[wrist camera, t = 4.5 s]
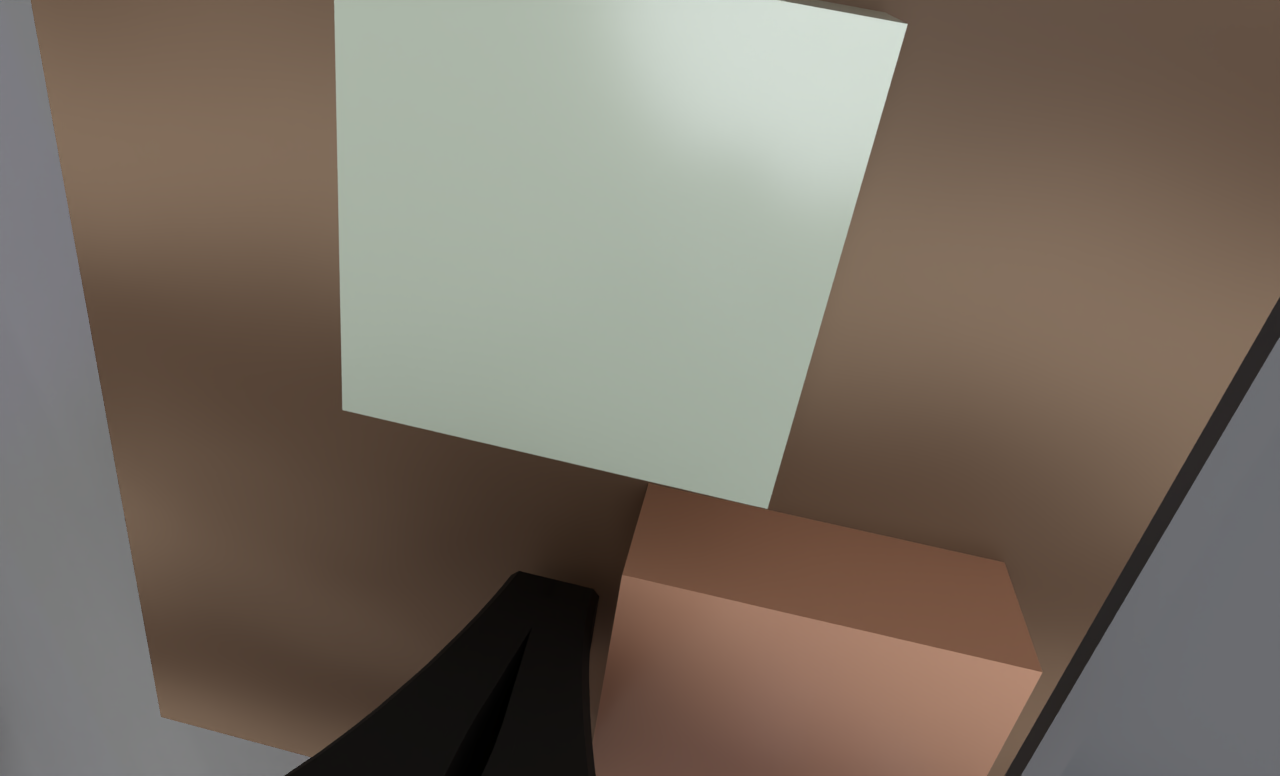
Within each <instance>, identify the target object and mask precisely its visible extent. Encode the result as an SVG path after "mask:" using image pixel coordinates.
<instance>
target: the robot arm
mask: <svg viewBox="0 0 1280 776" xmlns="http://www.w3.org/2000/svg"><path fill="white" fill-rule="evenodd" d="M598 602H599V595H598V594H597V593H596V591H595V590H594V589H592V588H588V587H584V586H580V585H576V584H572V583H567V582H563V581H559V580H555V579H551V578H547V577H543V576H538V575H534V574H530V573H526V572H522V571H518V572H516V573H514V574H512V575H511V576H510V577H509V578H508V579H507V581H506V582H505V583H504V584H503V586H502V587H501V588H500V589H499V590H498V591H497V593H496V594H495V595H494V596H493V597H492V598H491V599H490V601H489V602H488V603H487V604H486V605H485V606H484V607H483V608H482V609H481V610H480V612H479V613H478V614H477V615H476V616H475V617H474V618H473V619H472V620H471V621H470V622H469V623H468V624H467V625H466V626H465V627H464V628H463V629H462V630H461V631H460V632H459V633H458V634H457V635H456V636H455V637H454V638H453V639H452V640H451V641H450V642H449V643H448V644H447V645H446V646H445V647H444V648H443V649H442V650H441V651H440V652H439V653H438V654H437V655H436V656H435V657H434V658H433V659H432V660H431V661H430V662H428V663H427V664H426V665H425V666H424V667H423V668H422V669H421V670H420V671H419V672H418V673H416V674H415V675H414V676H413V677H412V678H411V679H410V680H408V681H407V682H406V683H405V684H404V685H403V686H401V687H400V688H399V689H398V690H397V691H396V692H395V693H393V694H392V695H391V696H390V697H389V698H388V699H386V700H385V701H384V702H383V703H382V704H381V705H379V706H378V707H377V708H376V709H375V710H373V711H372V712H371V713H370V714H368V715H367V716H366V717H365V718H363V719H362V720H361V721H360V722H358V723H357V724H356V725H355V726H353V727H352V728H351V729H349V730H348V731H347V732H345V733H344V734H343V735H341V736H340V737H339V738H337V739H336V740H335V741H333V742H332V743H331V744H329V745H328V746H327V747H325V748H324V749H323V750H321V751H320V752H318V753H317V754H316V755H314V756H313V757H311V758H310V759H308V760H307V761H305V762H304V763H302V764H301V765H300V766H298V767H297V768H295V769H294V770H292V771H291V772H289V773H288V774H286V775H285V776H596V773H595V764H594V754H593V744H592V733H591V718H590V689H589V660H590V649H591V643H592V637H593V631H594V626H595V620H596V614H597V608H598Z"/></svg>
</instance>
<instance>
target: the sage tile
mask: <svg viewBox="0 0 1280 776" xmlns="http://www.w3.org/2000/svg"><path fill="white" fill-rule="evenodd" d="M334 19H335V69H336V118H337V168H338V217H339V267H340V316H341V366H342V410H345V411H349V412H353V413H358V414H362V415H366V416H370V417H375V418H379V419H383V420H388V421H392V422H396V423H400V424H405V425H409V426H413V427H418V428H422V429H426V430H431V431H435V432H439V433H443V434H448V435H452V436H456V437H461V438H465V439H469V440H473V441H478V442H482V443H486V444H491V445H495V446H499V447H503V448H508V449H512V450H516V451H521V452H525V453H529V454H533V455H538V456H542V457H546V458H551V459H555V460H559V461H564V462H568V463H572V464H576V465H581V466H585V467H589V468H594V469H598V470H602V471H606V472H611V473H615V474H619V475H624V476H628V477H632V478H636V479H641V480H645V481H649V482H654V483H658V484H662V485H666V486H671V487H675V488H679V489H684V490H688V491H692V492H697V493H701V494H705V495H709V496H714V497H718V498H722V499H727V500H731V501H735V502H739V503H744V504H748V505H752V506H757V507H761V508H765V509H768V505H769V502H770V499H771V495H772V492H773V488H774V485H775V481H776V478H777V474H778V471H779V467H780V464H781V460H782V457H783V454H784V450H785V447H786V443H787V440H788V436H789V433H790V429H791V426H792V422H793V419H794V416H795V412H796V409H797V405H798V402H799V398H800V395H801V391H802V388H803V384H804V381H805V378H806V374H807V371H808V367H809V364H810V360H811V357H812V353H813V350H814V346H815V343H816V340H817V336H818V333H819V329H820V326H821V322H822V319H823V315H824V312H825V308H826V305H827V301H828V298H829V295H830V291H831V288H832V284H833V281H834V277H835V274H836V270H837V267H838V263H839V260H840V257H841V253H842V250H843V246H844V243H845V239H846V236H847V232H848V229H849V225H850V222H851V219H852V215H853V212H854V208H855V205H856V201H857V198H858V194H859V191H860V187H861V184H862V181H863V177H864V174H865V170H866V167H867V163H868V160H869V156H870V153H871V149H872V146H873V142H874V139H875V136H876V132H877V129H878V125H879V122H880V118H881V115H882V111H883V108H884V104H885V101H886V98H887V94H888V91H889V87H890V84H891V80H892V77H893V73H894V70H895V66H896V63H897V60H898V56H899V53H900V49H901V46H902V42H903V39H904V35H905V32H906V28H907V25H908V24H907V23H905V22H903V21H901V20H899V19H897V18H895V17H893V16H891V15H889V14H887V13H885V12H880V11H875V10H869V9H864V8H858V7H853V6H847V5H842V4H837V3H831V2H826V1H820V0H334Z"/></svg>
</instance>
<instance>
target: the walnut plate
mask: <svg viewBox="0 0 1280 776" xmlns="http://www.w3.org/2000/svg"><path fill="white" fill-rule="evenodd" d="M820 1H826V2H831V3H837V4H842V5H847V6H853V7H858V8H864V9H869V10H875V11H880V12H885V13H887V14H889V15H891V16H893V17H895V18H897V19H899V20H901V21H903V22H905V23H907V24H908V25H907V28H906V32H905V35H904V39H903V42H902V46H901V49H900V53H899V56H898V60H897V63H896V66H895V70H894V73H893V77H892V80H891V84H890V87H889V91H888V94H887V98H886V101H885V104H884V108H883V111H882V115H881V118H880V122H879V125H878V129H877V132H876V136H875V139H874V142H873V146H872V149H871V153H870V156H869V160H868V163H867V167H866V170H865V174H864V177H863V181H862V184H861V187H860V191H859V194H858V198H857V201H856V205H855V208H854V212H853V215H852V219H851V222H850V225H849V229H848V232H847V236H846V239H845V243H844V246H843V250H842V253H841V257H840V260H839V263H838V267H837V270H836V274H835V277H834V281H833V284H832V288H831V291H830V295H829V298H828V301H827V305H826V308H825V312H824V315H823V319H822V322H821V326H820V329H819V333H818V336H817V340H816V343H815V346H814V350H813V353H812V357H811V360H810V364H809V367H808V371H807V374H806V378H805V381H804V384H803V388H802V391H801V395H800V398H799V402H798V405H797V409H796V412H795V416H794V419H793V422H792V426H791V429H790V433H789V436H788V440H787V443H786V447H785V450H784V454H783V457H782V460H781V464H780V467H779V471H778V474H777V478H776V481H775V485H774V488H773V492H772V495H771V499H770V502H769V505H768V509H767V510H771V511H776V512H780V513H785V514H789V515H794V516H798V517H803V518H807V519H812V520H816V521H821V522H825V523H830V524H834V525H839V526H843V527H848V528H852V529H857V530H861V531H866V532H870V533H875V534H879V535H884V536H888V537H893V538H897V539H902V540H906V541H911V542H915V543H920V544H924V545H928V546H933V547H937V548H942V549H946V550H951V551H955V552H960V553H964V554H969V555H973V556H978V557H982V558H987V559H991V560H996V561H1000V562H1005V565H1006V568H1007V571H1008V574H1009V577H1010V580H1011V582H1012V585H1013V588H1014V591H1015V594H1016V597H1017V600H1018V603H1019V606H1020V608H1021V611H1022V614H1023V617H1024V620H1025V623H1026V626H1027V629H1028V631H1029V634H1030V637H1031V640H1032V643H1033V646H1034V649H1035V652H1036V655H1037V657H1038V660H1039V663H1040V666H1041V669H1042V672H1043V673H1042V674H1041V676H1040V678H1039V680H1038V682H1037V684H1036V686H1035V687H1034V689H1033V691H1032V693H1031V695H1030V697H1029V699H1028V700H1027V702H1026V704H1025V706H1024V708H1023V710H1022V712H1021V713H1020V715H1019V717H1018V719H1017V721H1016V723H1015V725H1014V726H1013V728H1012V730H1011V732H1010V734H1009V736H1008V738H1007V739H1006V741H1005V743H1004V745H1003V747H1002V749H1001V751H1000V752H999V754H998V756H997V758H996V760H995V762H994V764H993V765H992V767H991V769H990V771H989V773H988V775H987V776H1005V774H1006V772H1007V770H1008V769H1009V767H1010V765H1011V763H1012V762H1013V760H1014V758H1015V757H1016V755H1017V753H1018V751H1019V750H1020V748H1021V746H1022V744H1023V743H1024V741H1025V739H1026V737H1027V736H1028V734H1029V732H1030V730H1031V729H1032V727H1033V725H1034V723H1035V722H1036V720H1037V718H1038V716H1039V715H1040V713H1041V711H1042V710H1043V708H1044V706H1045V704H1046V703H1047V701H1048V699H1049V697H1050V696H1051V694H1052V692H1053V690H1054V689H1055V687H1056V685H1057V683H1058V682H1059V680H1060V678H1061V676H1062V675H1063V673H1064V671H1065V670H1066V668H1067V666H1068V664H1069V663H1070V661H1071V659H1072V657H1073V656H1074V654H1075V652H1076V650H1077V649H1078V647H1079V645H1080V643H1081V642H1082V640H1083V638H1084V636H1085V635H1086V633H1087V631H1088V630H1089V628H1090V626H1091V624H1092V623H1093V621H1094V619H1095V617H1096V616H1097V614H1098V612H1099V610H1100V609H1101V607H1102V605H1103V603H1104V602H1105V600H1106V598H1107V596H1108V595H1109V593H1110V591H1111V590H1112V588H1113V586H1114V584H1115V583H1116V581H1117V579H1118V577H1119V576H1120V574H1121V572H1122V570H1123V569H1124V567H1125V565H1126V563H1127V562H1128V560H1129V558H1130V556H1131V555H1132V553H1133V551H1134V549H1135V548H1136V546H1137V544H1138V543H1139V541H1140V539H1141V537H1142V536H1143V534H1144V532H1145V530H1146V529H1147V527H1148V525H1149V523H1150V522H1151V520H1152V518H1153V516H1154V515H1155V513H1156V511H1157V509H1158V508H1159V506H1160V504H1161V503H1162V501H1163V499H1164V497H1165V496H1166V494H1167V492H1168V490H1169V489H1170V487H1171V485H1172V483H1173V482H1174V480H1175V478H1176V476H1177V475H1178V473H1179V471H1180V469H1181V468H1182V466H1183V464H1184V463H1185V461H1186V459H1187V457H1188V456H1189V454H1190V452H1191V450H1192V449H1193V447H1194V445H1195V443H1196V442H1197V440H1198V438H1199V436H1200V435H1201V433H1202V431H1203V429H1204V428H1205V426H1206V424H1207V422H1208V421H1209V419H1210V417H1211V416H1212V414H1213V412H1214V410H1215V409H1216V407H1217V405H1218V403H1219V402H1220V400H1221V398H1222V396H1223V395H1224V393H1225V391H1226V389H1227V388H1228V386H1229V384H1230V382H1231V381H1232V379H1233V377H1234V376H1235V374H1236V372H1237V370H1238V369H1239V367H1240V365H1241V363H1242V362H1243V360H1244V358H1245V356H1246V355H1247V353H1248V351H1249V349H1250V348H1251V346H1252V344H1253V342H1254V341H1255V339H1256V337H1257V336H1258V334H1259V332H1260V330H1261V329H1262V327H1263V325H1264V323H1265V322H1266V320H1267V318H1268V316H1269V315H1270V313H1271V311H1272V309H1273V308H1274V306H1275V304H1276V302H1277V301H1278V299H1279V297H1280V0H820ZM31 4H32V10H33V15H34V21H35V26H36V32H37V37H38V43H39V48H40V54H41V59H42V65H43V70H44V76H45V81H46V87H47V92H48V98H49V103H50V109H51V114H52V120H53V125H54V131H55V136H56V142H57V147H58V153H59V158H60V164H61V169H62V175H63V180H64V186H65V191H66V197H67V202H68V208H69V213H70V219H71V224H72V230H73V235H74V241H75V246H76V252H77V257H78V263H79V268H80V274H81V279H82V285H83V290H84V296H85V301H86V307H87V312H88V318H89V323H90V329H91V334H92V340H93V345H94V351H95V356H96V362H97V367H98V373H99V378H100V384H101V389H102V395H103V400H104V406H105V411H106V417H107V422H108V428H109V433H110V439H111V444H112V450H113V455H114V461H115V466H116V472H117V477H118V483H119V488H120V494H121V499H122V505H123V510H124V516H125V521H126V527H127V532H128V538H129V543H130V548H131V554H132V559H133V565H134V570H135V576H136V581H137V587H138V592H139V598H140V603H141V609H142V614H143V620H144V625H145V631H146V636H147V642H148V647H149V653H150V658H151V664H152V669H153V675H154V680H155V686H156V691H157V697H158V702H159V708H160V713H161V717H164V718H167V719H171V720H175V721H179V722H182V723H186V724H190V725H193V726H197V727H201V728H205V729H208V730H212V731H216V732H219V733H223V734H227V735H231V736H234V737H238V738H242V739H246V740H249V741H253V742H257V743H260V744H264V745H268V746H272V747H275V748H279V749H283V750H286V751H290V752H294V753H298V754H301V755H305V756H309V757H313V756H314V755H316V754H317V753H318V752H320V751H321V750H323V749H324V748H325V747H327V746H328V745H329V744H331V743H332V742H333V741H335V740H336V739H337V738H339V737H340V736H341V735H343V734H344V733H345V732H347V731H348V730H349V729H351V728H352V727H353V726H355V725H356V724H357V723H358V722H360V721H361V720H362V719H363V718H365V717H366V716H367V715H368V714H370V713H371V712H372V711H373V710H375V709H376V708H377V707H378V706H379V705H381V704H382V703H383V702H384V701H385V700H386V699H388V698H389V697H390V696H391V695H392V694H393V693H395V692H396V691H397V690H398V689H399V688H400V687H401V686H403V685H404V684H405V683H406V682H407V681H408V680H410V679H411V678H412V677H413V676H414V675H415V674H416V673H418V672H419V671H420V670H421V669H422V668H423V667H424V666H425V665H426V664H427V663H428V662H430V661H431V660H432V659H433V658H434V657H435V656H436V655H437V654H438V653H439V652H440V651H441V650H442V649H443V648H444V647H445V646H446V645H447V644H448V643H449V642H450V641H451V640H452V639H453V638H454V637H455V636H456V635H457V634H458V633H459V632H460V631H461V630H462V629H463V628H464V627H465V626H466V625H467V624H468V623H469V622H470V621H471V620H472V619H473V618H474V617H475V616H476V615H477V614H478V613H479V612H480V610H481V609H482V608H483V607H484V606H485V605H486V604H487V603H488V602H489V601H490V599H491V598H492V597H493V596H494V595H495V594H496V593H497V591H498V590H499V589H500V588H501V587H502V586H503V584H504V583H505V582H506V581H507V579H508V578H509V577H510V576H511V575H512V574H514V573H516V572H518V571H522V572H526V573H530V574H534V575H538V576H543V577H547V578H551V579H555V580H559V581H563V582H567V583H572V584H576V585H580V586H584V587H588V588H592V589H594V590H595V591H596V593H597V594H598V595H599V602H598V608H597V614H596V620H595V626H594V631H593V637H592V643H591V649H590V660H589V689H590V718H591V733H592V743H593V737H594V732H595V726H596V720H597V715H598V709H599V703H600V697H601V692H602V686H603V680H604V675H605V669H606V663H607V658H608V652H609V646H610V641H611V635H612V629H613V624H614V618H615V612H616V607H617V601H618V595H619V590H620V584H621V578H622V573H623V570H624V567H625V563H626V560H627V556H628V553H629V549H630V546H631V542H632V539H633V535H634V532H635V529H636V525H637V522H638V518H639V515H640V511H641V508H642V504H643V501H644V497H645V494H646V491H647V487H648V484H649V483H650V484H655V485H659V486H664V487H668V488H673V489H677V490H682V491H686V492H691V493H695V494H700V495H704V496H709V495H705V494H701V493H697V492H692V491H688V490H684V489H679V488H675V487H671V486H666V485H662V484H658V483H654V482H649V481H645V480H641V479H636V478H632V477H628V476H624V475H619V474H615V473H611V472H606V471H602V470H598V469H594V468H589V467H585V466H581V465H576V464H572V463H568V462H564V461H559V460H555V459H551V458H546V457H542V456H538V455H533V454H529V453H525V452H521V451H516V450H512V449H508V448H503V447H499V446H495V445H491V444H486V443H482V442H478V441H473V440H469V439H465V438H461V437H456V436H452V435H448V434H443V433H439V432H435V431H431V430H426V429H422V428H418V427H413V426H409V425H405V424H400V423H396V422H392V421H388V420H383V419H379V418H375V417H370V416H366V415H362V414H358V413H353V412H349V411H345V410H342V366H341V316H340V267H339V217H338V168H337V118H336V69H335V19H334V0H31ZM709 497H713V498H718V497H714V496H709ZM718 499H722V498H718ZM722 500H727V499H722ZM727 501H731V500H727ZM731 502H735V501H731ZM736 503H739V502H736ZM740 504H744V503H740ZM745 505H748V504H745ZM749 506H752V505H749ZM753 507H757V506H753ZM758 508H761V507H758ZM762 509H765V508H762Z"/></svg>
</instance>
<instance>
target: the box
mask: <svg viewBox="0 0 1280 776" xmlns="http://www.w3.org/2000/svg"><path fill="white" fill-rule="evenodd" d="M1005 776H1280V297H1279V299H1278V301H1277V302H1276V304H1275V306H1274V308H1273V309H1272V311H1271V313H1270V315H1269V316H1268V318H1267V320H1266V322H1265V323H1264V325H1263V327H1262V329H1261V330H1260V332H1259V334H1258V336H1257V337H1256V339H1255V341H1254V342H1253V344H1252V346H1251V348H1250V349H1249V351H1248V353H1247V355H1246V356H1245V358H1244V360H1243V362H1242V363H1241V365H1240V367H1239V369H1238V370H1237V372H1236V374H1235V376H1234V377H1233V379H1232V381H1231V382H1230V384H1229V386H1228V388H1227V389H1226V391H1225V393H1224V395H1223V396H1222V398H1221V400H1220V402H1219V403H1218V405H1217V407H1216V409H1215V410H1214V412H1213V414H1212V416H1211V417H1210V419H1209V421H1208V422H1207V424H1206V426H1205V428H1204V429H1203V431H1202V433H1201V435H1200V436H1199V438H1198V440H1197V442H1196V443H1195V445H1194V447H1193V449H1192V450H1191V452H1190V454H1189V456H1188V457H1187V459H1186V461H1185V463H1184V464H1183V466H1182V468H1181V469H1180V471H1179V473H1178V475H1177V476H1176V478H1175V480H1174V482H1173V483H1172V485H1171V487H1170V489H1169V490H1168V492H1167V494H1166V496H1165V497H1164V499H1163V501H1162V503H1161V504H1160V506H1159V508H1158V509H1157V511H1156V513H1155V515H1154V516H1153V518H1152V520H1151V522H1150V523H1149V525H1148V527H1147V529H1146V530H1145V532H1144V534H1143V536H1142V537H1141V539H1140V541H1139V543H1138V544H1137V546H1136V548H1135V549H1134V551H1133V553H1132V555H1131V556H1130V558H1129V560H1128V562H1127V563H1126V565H1125V567H1124V569H1123V570H1122V572H1121V574H1120V576H1119V577H1118V579H1117V581H1116V583H1115V584H1114V586H1113V588H1112V590H1111V591H1110V593H1109V595H1108V596H1107V598H1106V600H1105V602H1104V603H1103V605H1102V607H1101V609H1100V610H1099V612H1098V614H1097V616H1096V617H1095V619H1094V621H1093V623H1092V624H1091V626H1090V628H1089V630H1088V631H1087V633H1086V635H1085V636H1084V638H1083V640H1082V642H1081V643H1080V645H1079V647H1078V649H1077V650H1076V652H1075V654H1074V656H1073V657H1072V659H1071V661H1070V663H1069V664H1068V666H1067V668H1066V670H1065V671H1064V673H1063V675H1062V676H1061V678H1060V680H1059V682H1058V683H1057V685H1056V687H1055V689H1054V690H1053V692H1052V694H1051V696H1050V697H1049V699H1048V701H1047V703H1046V704H1045V706H1044V708H1043V710H1042V711H1041V713H1040V715H1039V716H1038V718H1037V720H1036V722H1035V723H1034V725H1033V727H1032V729H1031V730H1030V732H1029V734H1028V736H1027V737H1026V739H1025V741H1024V743H1023V744H1022V746H1021V748H1020V750H1019V751H1018V753H1017V755H1016V757H1015V758H1014V760H1013V762H1012V763H1011V765H1010V767H1009V769H1008V770H1007V772H1006V774H1005Z"/></svg>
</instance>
